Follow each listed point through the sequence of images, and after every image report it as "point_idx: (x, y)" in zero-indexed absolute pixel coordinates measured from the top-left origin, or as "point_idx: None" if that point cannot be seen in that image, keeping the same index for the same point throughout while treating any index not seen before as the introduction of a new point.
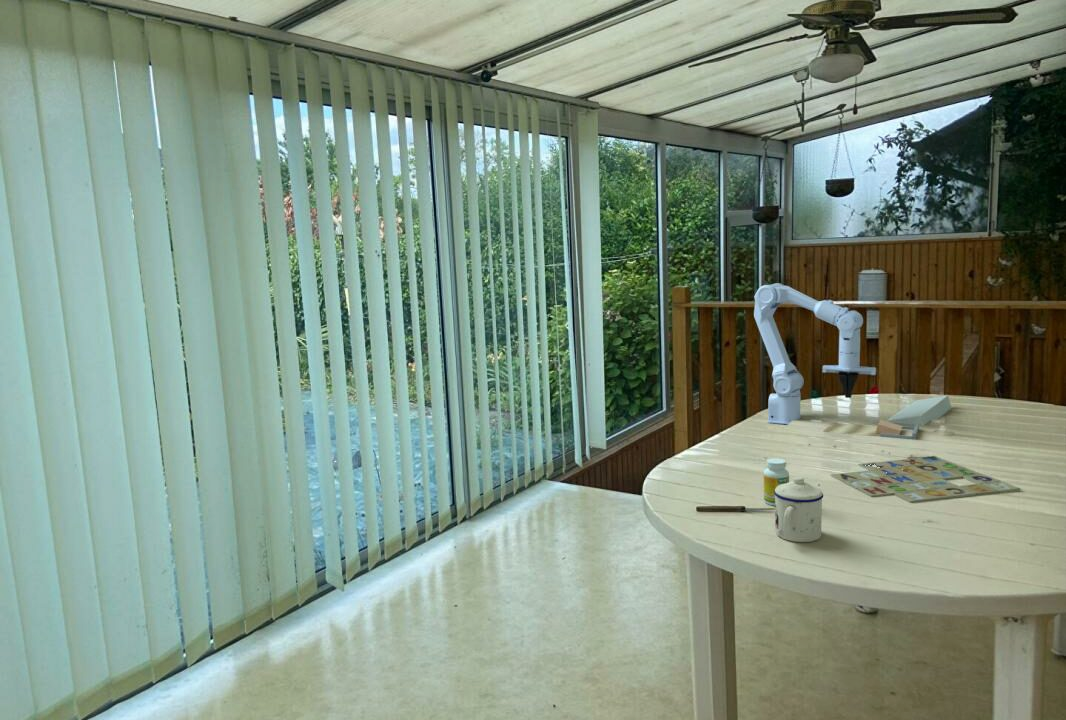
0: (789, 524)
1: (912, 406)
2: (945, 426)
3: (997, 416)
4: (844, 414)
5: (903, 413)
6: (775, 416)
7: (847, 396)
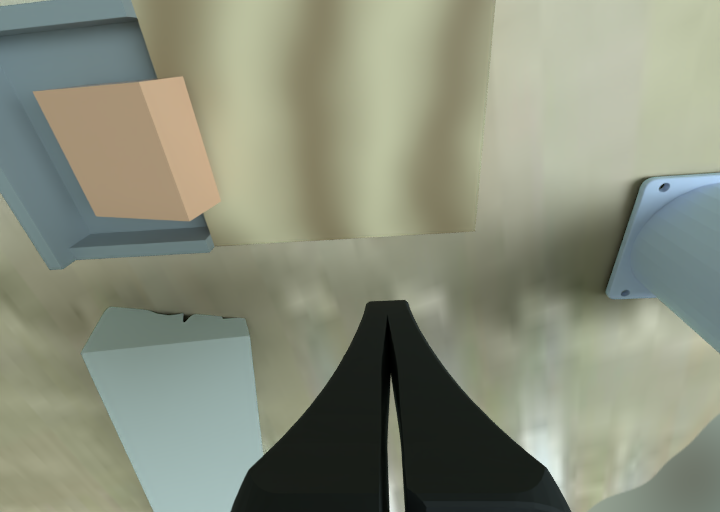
0: None
1: None
2: None
3: (62, 495)
4: None
5: (226, 426)
6: None
7: (388, 304)
